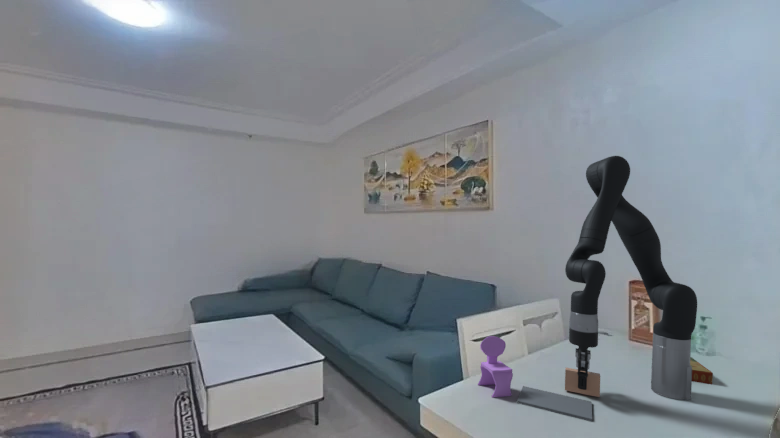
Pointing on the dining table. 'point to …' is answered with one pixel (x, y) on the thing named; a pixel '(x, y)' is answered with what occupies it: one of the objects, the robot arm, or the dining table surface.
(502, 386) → the toy chair
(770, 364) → the dining table surface
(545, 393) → the mat
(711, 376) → the carton
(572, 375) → the block
